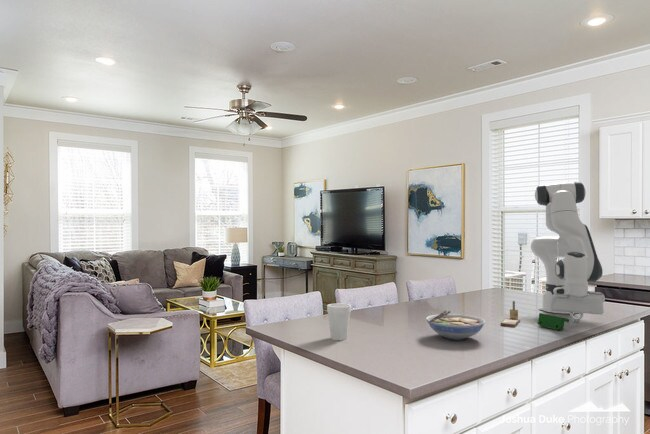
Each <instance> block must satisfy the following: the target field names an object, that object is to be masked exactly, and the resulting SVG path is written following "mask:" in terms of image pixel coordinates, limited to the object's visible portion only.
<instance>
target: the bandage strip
mask: <svg viewBox="0 0 650 434" xmlns="http://www.w3.org/2000/svg"><path fill="white" fill-rule="evenodd" d="M520 322H521V319H519V318H518V319H511V318H510V317H506V318H504V319H503V320H502V321H501V322H500V326H501V327H509V328H510V327H511V328H516V327H517V326H518V324H519V323H520Z"/></svg>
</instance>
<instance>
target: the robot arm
mask: <svg viewBox="0 0 650 434" xmlns="http://www.w3.org/2000/svg"><path fill="white" fill-rule="evenodd" d="M586 195H587V191H586V187H585V186H584V183H582V182H581V181H573V182H572V181H562V182H561V181H560V182H554V183H547V184H545V183H543V184H539V185H537V187H536V189H535V190H534V199H535V201H536V203H537V204H538V205H540V206H544V207H545V226H546V227H547V229H548V230H549V231H551V232H553V233H555V234H557V235H558V236H539V237H538V236H537V237H535V238H533V239H532V241H531V244H530V250H531V252H532V254H533V255H534V256H535V257H537V258H538V259H539V260H540V261H541V262H542V264H543V266H544V269H545V277H546V283H545V292H544V293H542V305H541V306H540V307H538V311H539V310H540V311H544V312H548V313H554V314H569V315H570V317H571V318H572V323H573V324H581V321H582V318H583V316H584V314H587V315H588V314H589V315H590V314H591V315H604V313H605V307H604V302H605V301H606V300H605V299H606V297H605V295H604V294H603V293H602V292H600V291H591V290H589V282H590V283H595V282H598V281H599V280H600V279H601V277H602V276H603V267H602V264H601V261H600V259H599V256H598V255H597V251H596V247H595V245H594V242H593V238H592V236H591V232H590V230H589V227H588V226H587V225H586V224H584V223H583V222H582V221H581V219H580V217H579V214H578V206H577V204H580V203H582V202H583V201H584V200H585V198H586ZM557 258H560V259H559V260H557ZM574 314H579V318H578V317H577V318H576V317H575V316H574Z"/></svg>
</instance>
